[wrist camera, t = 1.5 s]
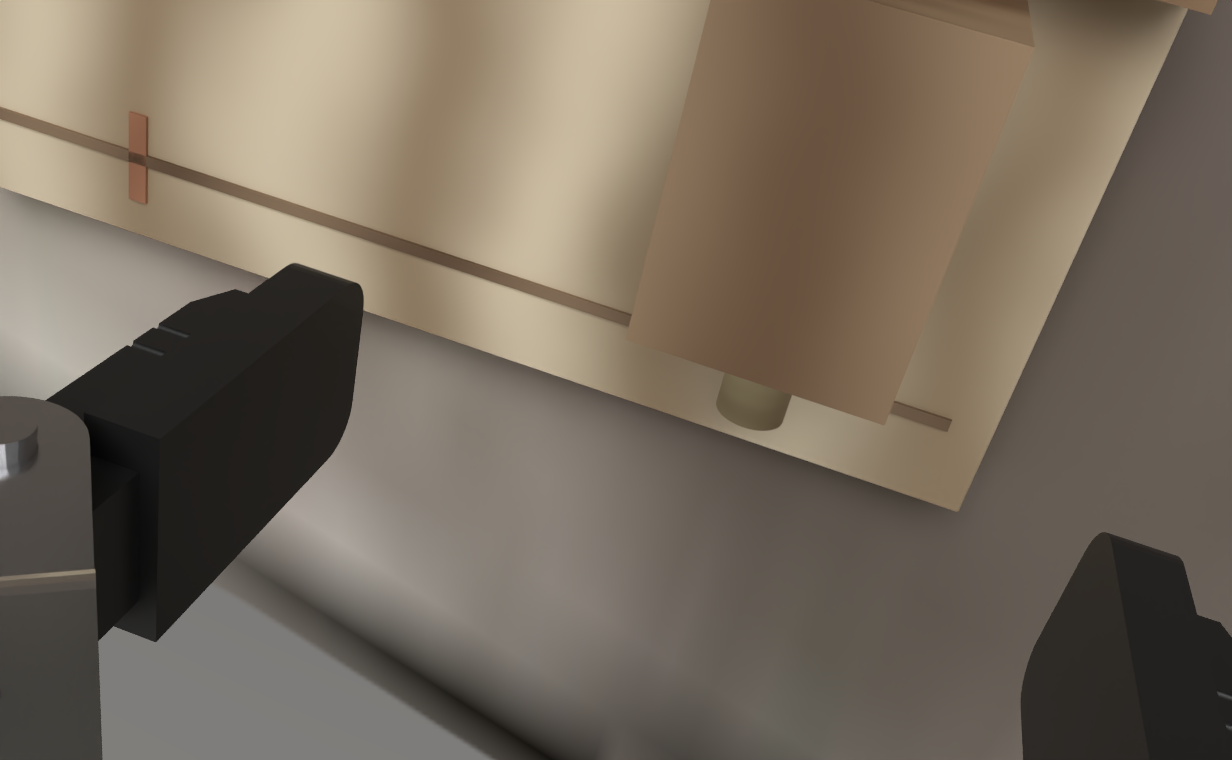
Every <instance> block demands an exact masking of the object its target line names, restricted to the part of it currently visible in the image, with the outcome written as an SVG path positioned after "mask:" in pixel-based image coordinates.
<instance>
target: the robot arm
mask: <svg viewBox="0 0 1232 760" xmlns="http://www.w3.org/2000/svg"><path fill="white" fill-rule="evenodd" d="M363 308H364V295H363V290H362V287H361V286H360V284H358V283H356V282H353V281H350V280H347V279H344V278H341V277H338V276H335V275H332V274H329V273H326V272H323V271H320V270H317V269H314V268H311V267H308V266H305V265H302V264H299V263H292V264H289V265H287V266H286V267H284V268H283V269H282V270H280V271H279V272H277V273H276V274H275V275H273V276H272V277H270V278H269V279H268V280H266V281H265V282H264V283H262V284H261V285H259V286H258V287H257V288H255V289H254V290H252V291H251V292H250V293H245V292H242V291H239V290H236V289H235V290H231V291H228V292H224V293H221V294H217V295H214V296H210V297H207V298H203V299H200V300H196V301H193V302H190V303H189V304H187V305H186V306H184V307H183V308H181V309H180V310H178V311H177V312H175V313H174V314H172V315H171V316H169V317H168V318H166V319H165V320H163V321H162V322H161V323H159V327H158V328H157V329H156V328H152V329H150V330H149V331H147V332H146V333H144V334H143V335H141V336H140V337H138V338H137V339H135V340H134V341H133V345H132V346H131V347H130V346H128V345H127V346H125V347H124V348H122V349H121V350H119V351H118V352H116V353H115V354H113V355H112V356H110V357H109V358H107V359H106V360H104V361H103V362H102V363H100V364H99V365H97V366H96V367H94V368H93V369H91V370H90V371H88V372H87V373H85V374H84V375H82V376H81V377H79V378H78V379H76V380H75V381H73V382H72V383H71V384H69V385H68V386H66V387H65V388H63V389H62V390H60V391H59V392H57V393H56V394H54V395H53V396H51V397H50V398H48V399H47V400H45V401H44V400H40V399H35V398H27V397H17V396H0V760H102V737H101V709H100V682H99V653H98V641H99V640H100V639H101V638H102V637H103V636H104V635H105V634H106V633H107V632H108V631H109V630H110V629H111V628H112V627H113V626H115V627H117V628H120V629H122V630H125V631H128V632H130V633H133V634H135V635H138V636H141V637H143V638H146V639H149V640H151V641H154V642H157V640H158V639H159V638H160V637H161V636H162V635H163V634H164V633H165V632H166V631H167V630H168V629H169V628H170V627H171V626H172V624H173V623H174V622H175V621H176V620H177V619H178V618H179V617H180V616H181V615H182V614H183V613H184V612H185V611H186V610H187V609H188V608H189V606H190V605H191V604H192V603H193V602H194V601H195V600H196V599H197V598H198V597H199V596H200V595H201V594H202V592H203V591H205V589H206V588H207V587H208V586H209V585H210V584H211V583H212V582H213V581H214V580H215V579H216V578H217V577H218V576H219V575H220V573H221V572H222V571H223V570H224V569H225V568H226V567H227V566H228V565H229V564H230V563H231V562H232V561H233V560H234V559H235V558H236V556H237V555H238V554H239V553H240V552H241V551H242V550H243V549H244V548H245V547H246V546H247V545H248V544H249V543H250V542H251V540H252V539H253V538H254V537H255V536H256V535H257V534H258V533H259V532H260V531H261V530H262V529H263V528H264V527H265V526H266V525H267V523H268V522H269V521H270V520H271V519H272V518H273V517H274V516H275V515H276V514H277V513H278V512H279V511H280V510H281V509H282V508H283V506H284V505H285V504H286V503H287V502H288V501H289V500H290V499H291V498H292V497H293V496H294V495H295V494H296V493H297V492H298V490H299V489H300V488H301V487H302V486H303V485H304V484H305V483H306V482H307V481H308V480H309V479H310V478H311V477H312V476H313V475H314V473H315V472H316V471H317V470H318V469H319V468H320V467H321V466H322V465H323V464H324V463H325V462H326V461H327V460H328V458H329V457H330V456H331V455H332V453H333V452H334V450H335V449H336V447H337V445H338V444H339V442H340V440H341V438H342V436H343V433H344V431H345V428H346V426H347V423H348V419H349V416H350V412H351V407H352V401H353V392H354V384H355V376H356V367H357V359H358V350H359V342H360V333H361V325H362V317H363ZM1021 723H1022V744H1023V760H1232V637H1231V636H1230V635H1229V634H1228V632H1227V631H1226V630H1225V628H1224V627H1223V626H1222V624H1221V623H1220V622H1217V621H1214V620H1211V619H1208V618H1205V617H1202V616H1199V615H1197V613H1196V609H1195V605H1194V601H1193V597H1192V594H1191V590H1190V586H1189V582H1188V578H1187V575H1186V571H1185V567H1184V564H1183V561H1182V560H1181V558H1180V557H1178V556H1176V555H1173V554H1170V553H1167V552H1163V551H1160V550H1157V549H1154V548H1151V547H1148V546H1145V545H1142V544H1139V543H1136V542H1133V541H1130V540H1127V539H1124V538H1121V537H1118V536H1115V535H1112V534H1109V533H1106V532H1102V533H1100V534H1098V535H1097V536H1096V537H1095V538H1094V539H1093V540H1092V542H1091V543H1090V545H1089V546H1088V548H1087V549H1086V551H1085V553H1084V555H1083V557H1082V558H1081V560H1080V562H1079V564H1078V566H1077V568H1076V570H1075V571H1074V573H1073V575H1072V577H1071V579H1070V581H1069V583H1068V584H1067V586H1066V588H1065V590H1064V592H1063V594H1062V596H1061V597H1060V599H1059V601H1058V603H1057V605H1056V607H1055V609H1054V610H1053V612H1052V614H1051V616H1050V618H1049V620H1048V622H1047V623H1046V625H1045V627H1044V629H1043V631H1042V633H1041V635H1040V636H1039V638H1038V640H1037V642H1036V644H1035V646H1034V649H1033V651H1032V653H1031V656H1030V659H1029V661H1028V665H1027V668H1026V672H1025V676H1024V680H1023V685H1022V692H1021Z"/></svg>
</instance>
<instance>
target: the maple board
mask: <svg viewBox="0 0 1232 760" xmlns="http://www.w3.org/2000/svg"><path fill="white" fill-rule="evenodd" d="M1217 1H1218V0H1028V6H1029V12H1030V19H1031V25H1032V32H1033V38H1034V45H1035V49H1034V51H1033V54H1032V56H1031V59H1030V61H1029V64H1028V66H1027V69H1026V71H1025V74H1024V76H1023V79H1022V81H1021V84H1020V86H1019V89H1018V91H1017V94H1016V96H1015V99H1014V101H1013V104H1012V106H1011V109H1010V111H1009V114H1008V116H1007V119H1006V121H1005V124H1004V127H1003V129H1002V132H1001V134H1000V137H999V139H998V142H997V144H996V147H995V149H994V152H993V154H992V157H991V159H990V162H989V164H988V167H987V169H986V172H985V174H984V177H983V179H982V182H981V184H980V187H979V189H978V192H977V194H976V197H975V199H974V202H973V204H972V207H971V209H970V212H969V214H968V217H967V219H966V222H965V224H964V227H963V230H962V232H961V235H960V237H959V240H958V242H957V245H956V247H955V250H954V252H953V255H952V257H951V260H950V262H949V265H948V267H947V270H946V272H945V275H944V277H943V280H942V282H941V285H940V287H939V290H938V292H937V295H936V297H935V300H934V302H933V305H932V307H931V310H930V312H929V315H928V317H927V320H926V322H925V325H924V328H923V330H922V333H921V335H920V338H919V340H918V343H917V345H916V348H915V350H914V353H913V355H912V358H911V360H910V363H909V365H908V368H907V370H906V373H905V375H904V378H903V380H902V383H901V385H900V388H899V390H898V393H897V395H896V398H895V400H894V403H893V405H892V408H891V410H890V413H889V415H888V418H887V420H886V423H885V425H881V424H878V423H875V422H872V421H869V420H866V419H863V418H860V417H857V416H854V415H851V414H848V413H845V412H842V411H839V410H836V409H833V408H830V407H827V406H824V405H821V404H818V403H815V402H812V401H809V400H806V399H803V398H800V397H797V396H794V395H792V397H791V399H790V402H789V405H788V408H787V411H786V414H785V417H784V420H783V423H782V424H781V426H779V427H778V428H776V429H773V430H769V431H757V430H751V429H747V428H744V427H741V426H738V425H736V424H734V423H732V422H731V421H729V420H727V419H726V418H725V417H724V416H723V415H722V414H721V413H720V412H719V411H718V409H717V407H716V400H717V397H718V394H719V390H720V387H721V384H722V381H723V377H724V374H725V373H724V372H721V371H718V370H715V369H712V368H709V367H706V366H703V365H700V364H697V363H694V362H691V361H688V360H685V359H682V358H679V357H676V356H673V355H670V354H667V353H664V352H661V351H658V350H655V349H652V348H649V347H646V346H643V345H640V344H637V343H634V342H631V341H628V340H626V336H627V332H628V328H629V324H630V320H631V316H632V312H633V308H634V304H635V300H636V296H637V292H638V288H639V284H640V280H641V276H642V272H643V268H644V264H645V260H646V256H647V252H648V248H649V244H650V240H651V236H652V232H653V228H654V224H655V220H656V216H657V212H658V208H659V204H660V200H661V196H662V192H663V188H664V184H665V180H666V176H667V172H668V168H669V164H670V160H671V156H672V152H673V148H674V144H675V140H676V136H677V132H678V128H679V124H680V120H681V116H682V112H683V108H684V104H685V100H686V96H687V92H688V88H689V84H690V80H691V76H692V72H693V68H694V64H695V60H696V56H697V52H698V48H699V44H700V40H701V36H702V32H703V28H704V24H705V20H706V16H707V12H708V8H709V4H710V0H0V187H2V188H5V189H8V190H11V191H14V192H16V193H19V194H22V195H25V196H28V197H31V198H34V199H37V200H40V201H43V202H46V203H49V204H52V205H55V206H58V207H61V208H64V209H67V210H69V211H72V212H75V213H78V214H81V215H84V216H87V217H90V218H93V219H96V220H99V221H102V222H105V223H108V224H111V225H114V226H117V227H120V228H123V229H125V230H128V231H131V232H134V233H137V234H140V235H143V236H146V237H149V238H152V239H155V240H158V241H161V242H164V243H167V244H170V245H173V246H176V247H178V248H181V249H184V250H187V251H190V252H193V253H196V254H199V255H202V256H205V257H208V258H211V259H214V260H217V261H220V262H223V263H226V264H229V265H231V266H234V267H237V268H240V269H243V270H246V271H249V272H252V273H255V274H258V275H261V276H264V277H267V278H270V277H272V276H273V275H275V274H276V273H277V272H279V271H280V270H282V269H283V268H284V267H286V266H287V265H289V264H292V263H299V264H302V265H305V266H308V267H311V268H314V269H317V270H320V271H323V272H326V273H329V274H332V275H335V276H338V277H341V278H344V279H347V280H350V281H353V282H356V283H358V284H360V286H361V287H362V290H363V295H364V308H363V310H364V311H367V312H370V313H373V314H376V315H379V316H382V317H385V318H388V319H391V320H393V321H396V322H399V323H402V324H405V325H408V326H411V327H414V328H417V329H420V330H423V331H426V332H429V333H432V334H435V335H438V336H441V337H444V338H446V339H449V340H452V341H455V342H458V343H461V344H464V345H467V346H470V347H473V348H476V349H479V350H482V351H485V352H488V353H491V354H494V355H497V356H500V357H502V358H505V359H508V360H511V361H514V362H517V363H520V364H523V365H526V366H529V367H532V368H535V369H538V370H541V371H544V372H547V373H550V374H553V375H555V376H558V377H561V378H564V379H567V380H570V381H573V382H576V383H579V384H582V385H585V386H588V387H591V388H594V389H597V390H600V391H603V392H606V393H608V394H611V395H614V396H617V397H620V398H623V399H626V400H629V401H632V402H635V403H638V404H641V405H644V406H647V407H650V408H653V409H656V410H659V411H661V412H664V413H667V414H670V415H673V416H676V417H679V418H682V419H685V420H688V421H691V422H694V423H697V424H700V425H703V426H706V427H709V428H712V429H715V430H717V431H720V432H723V433H726V434H729V435H732V436H735V437H738V438H741V439H744V440H747V441H750V442H753V443H756V444H759V445H762V446H765V447H768V448H770V449H773V450H776V451H779V452H782V453H785V454H788V455H791V456H794V457H797V458H800V459H803V460H806V461H809V462H812V463H815V464H818V465H821V466H823V467H826V468H829V469H832V470H835V471H838V472H841V473H844V474H847V475H850V476H853V477H856V478H859V479H862V480H865V481H868V482H871V483H874V484H876V485H879V486H882V487H885V488H888V489H891V490H894V491H897V492H900V493H903V494H906V495H909V496H912V497H915V498H918V499H921V500H924V501H927V502H930V503H932V504H935V505H938V506H941V507H944V508H947V509H950V510H953V511H956V512H958V511H959V509H960V506H961V504H962V502H963V500H964V498H965V496H966V493H967V491H968V489H969V487H970V485H971V482H972V480H973V478H974V476H975V474H976V471H977V469H978V467H979V465H980V463H981V461H982V458H983V456H984V454H985V452H986V450H987V447H988V445H989V443H990V441H991V439H992V437H993V434H994V432H995V430H996V428H997V426H998V423H999V421H1000V419H1001V417H1002V415H1003V412H1004V410H1005V408H1006V406H1007V404H1008V402H1009V399H1010V397H1011V395H1012V393H1013V391H1014V388H1015V386H1016V384H1017V382H1018V380H1019V378H1020V375H1021V373H1022V371H1023V369H1024V367H1025V364H1026V362H1027V360H1028V358H1029V356H1030V353H1031V351H1032V349H1033V347H1034V345H1035V343H1036V340H1037V338H1038V336H1039V334H1040V332H1041V329H1042V327H1043V325H1044V323H1045V321H1046V319H1047V316H1048V314H1049V312H1050V310H1051V308H1052V305H1053V303H1054V301H1055V299H1056V297H1057V294H1058V292H1059V290H1060V288H1061V286H1062V284H1063V281H1064V279H1065V277H1066V275H1067V273H1068V270H1069V268H1070V266H1071V264H1072V262H1073V260H1074V257H1075V255H1076V253H1077V251H1078V249H1079V246H1080V244H1081V242H1082V240H1083V238H1084V235H1085V233H1086V231H1087V229H1088V227H1089V225H1090V222H1091V220H1092V218H1093V216H1094V214H1095V211H1096V209H1097V207H1098V205H1099V203H1100V201H1101V198H1102V196H1103V194H1104V192H1105V190H1106V187H1107V185H1108V183H1109V181H1110V179H1111V176H1112V174H1113V172H1114V170H1115V168H1116V166H1117V163H1118V161H1119V159H1120V157H1121V155H1122V152H1123V150H1124V148H1125V146H1126V144H1127V142H1128V139H1129V137H1130V135H1131V133H1132V131H1133V128H1134V126H1135V124H1136V122H1137V120H1138V117H1139V115H1140V113H1141V111H1142V109H1143V107H1144V104H1145V102H1146V100H1147V98H1148V96H1149V93H1150V91H1151V89H1152V87H1153V85H1154V83H1155V80H1156V78H1157V76H1158V74H1159V72H1160V69H1161V67H1162V65H1163V63H1164V61H1165V58H1166V56H1167V54H1168V52H1169V50H1170V48H1171V45H1172V43H1173V41H1174V39H1175V37H1176V34H1177V32H1178V30H1179V28H1180V26H1181V24H1182V21H1183V19H1184V17H1185V15H1186V13H1187V10H1188V9H1191V10H1195V11H1198V12H1202V13H1206V14H1209V15H1211V14H1212V12H1213V10H1214V8H1215V5H1216V3H1217Z"/></svg>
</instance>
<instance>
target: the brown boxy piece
mask: <svg viewBox="0 0 1232 760" xmlns="http://www.w3.org/2000/svg"><path fill="white" fill-rule="evenodd" d="M1034 49H1035V45H1034V38H1033V32H1032V25H1031V19H1030V12H1029V6H1028V0H710V4H709V8H708V12H707V16H706V20H705V24H704V28H703V32H702V36H701V40H700V44H699V48H698V52H697V56H696V60H695V64H694V68H693V72H692V76H691V80H690V84H689V88H688V92H687V96H686V100H685V104H684V108H683V112H682V116H681V120H680V124H679V128H678V132H677V136H676V140H675V144H674V148H673V152H672V156H671V160H670V164H669V168H668V172H667V176H666V180H665V184H664V188H663V192H662V196H661V200H660V204H659V208H658V212H657V216H656V220H655V224H654V228H653V232H652V236H651V240H650V244H649V248H648V252H647V256H646V260H645V264H644V268H643V272H642V276H641V280H640V284H639V288H638V292H637V296H636V300H635V304H634V308H633V312H632V316H631V320H630V324H629V328H628V332H627V336H626V340H628V341H631V342H634V343H637V344H640V345H643V346H646V347H649V348H652V349H655V350H658V351H661V352H664V353H667V354H670V355H673V356H676V357H679V358H682V359H685V360H688V361H691V362H694V363H697V364H700V365H703V366H706V367H709V368H712V369H715V370H718V371H721V372H724V373H725V374H724V377H723V381H722V384H721V387H720V390H719V394H718V397H717V400H716V407H717V409H718V411H719V412H720V413H721V414H722V415H723V416H724V417H725V418H726V419H727V420H729V421H731V422H732V423H734V424H736V425H738V426H741V427H744V428H747V429H751V430H757V431H769V430H773V429H776V428H778V427H779V426H781V424H782V423H783V420H784V417H785V414H786V411H787V408H788V405H789V402H790V399H791V397H792V395H794V396H797V397H800V398H803V399H806V400H809V401H812V402H815V403H818V404H821V405H824V406H827V407H830V408H833V409H836V410H839V411H842V412H845V413H848V414H851V415H854V416H857V417H860V418H863V419H866V420H869V421H872V422H875V423H878V424H881V425H885V423H886V420H887V418H888V415H889V413H890V410H891V408H892V405H893V403H894V400H895V398H896V395H897V393H898V390H899V388H900V385H901V383H902V380H903V378H904V375H905V373H906V370H907V368H908V365H909V363H910V360H911V358H912V355H913V353H914V350H915V348H916V345H917V343H918V340H919V338H920V335H921V333H922V330H923V328H924V325H925V322H926V320H927V317H928V315H929V312H930V310H931V307H932V305H933V302H934V300H935V297H936V295H937V292H938V290H939V287H940V285H941V282H942V280H943V277H944V275H945V272H946V270H947V267H948V265H949V262H950V260H951V257H952V255H953V252H954V250H955V247H956V245H957V242H958V240H959V237H960V235H961V232H962V230H963V227H964V224H965V222H966V219H967V217H968V214H969V212H970V209H971V207H972V204H973V202H974V199H975V197H976V194H977V192H978V189H979V187H980V184H981V182H982V179H983V177H984V174H985V172H986V169H987V167H988V164H989V162H990V159H991V157H992V154H993V152H994V149H995V147H996V144H997V142H998V139H999V137H1000V134H1001V132H1002V129H1003V127H1004V124H1005V121H1006V119H1007V116H1008V114H1009V111H1010V109H1011V106H1012V104H1013V101H1014V99H1015V96H1016V94H1017V91H1018V89H1019V86H1020V84H1021V81H1022V79H1023V76H1024V74H1025V71H1026V69H1027V66H1028V64H1029V61H1030V59H1031V56H1032V54H1033V51H1034Z"/></svg>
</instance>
